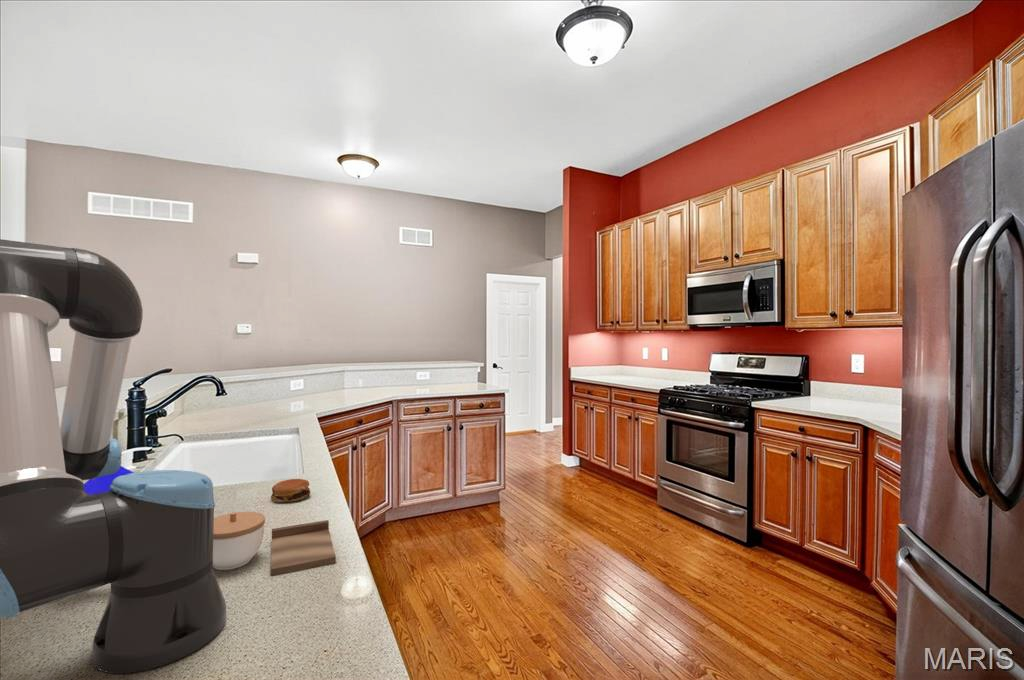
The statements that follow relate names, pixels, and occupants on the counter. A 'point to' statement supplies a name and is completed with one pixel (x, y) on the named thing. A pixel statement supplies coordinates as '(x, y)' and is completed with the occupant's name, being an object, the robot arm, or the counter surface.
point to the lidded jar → (236, 539)
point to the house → (103, 482)
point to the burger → (290, 490)
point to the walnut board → (301, 547)
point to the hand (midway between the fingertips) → (176, 524)
